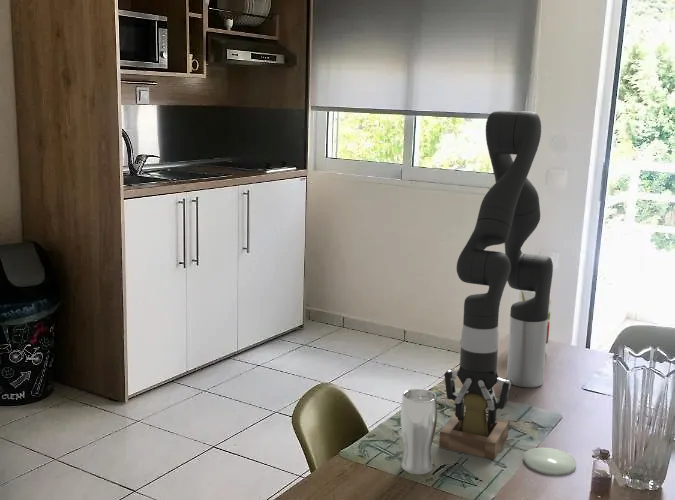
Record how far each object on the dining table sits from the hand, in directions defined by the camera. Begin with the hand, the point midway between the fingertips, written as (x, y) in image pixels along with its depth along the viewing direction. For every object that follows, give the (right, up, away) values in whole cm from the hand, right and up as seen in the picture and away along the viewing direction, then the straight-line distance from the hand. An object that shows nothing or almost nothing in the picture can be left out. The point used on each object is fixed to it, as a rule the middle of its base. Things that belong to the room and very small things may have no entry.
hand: (475, 421), depth 156 cm
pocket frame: (0, -4, +1) cm, 5 cm away
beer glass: (-13, -7, -10) cm, 18 cm away
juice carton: (+27, +6, +57) cm, 63 cm away
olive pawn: (0, -5, +1) cm, 5 cm away
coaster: (+13, -6, -8) cm, 17 cm away
